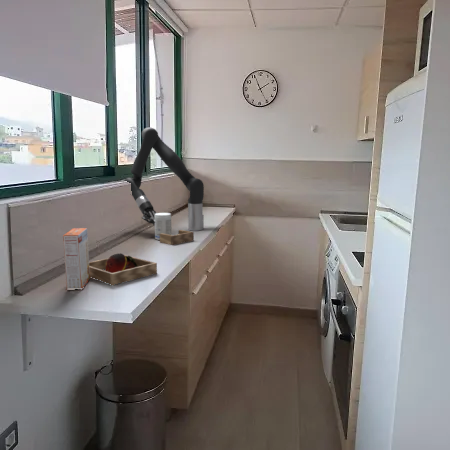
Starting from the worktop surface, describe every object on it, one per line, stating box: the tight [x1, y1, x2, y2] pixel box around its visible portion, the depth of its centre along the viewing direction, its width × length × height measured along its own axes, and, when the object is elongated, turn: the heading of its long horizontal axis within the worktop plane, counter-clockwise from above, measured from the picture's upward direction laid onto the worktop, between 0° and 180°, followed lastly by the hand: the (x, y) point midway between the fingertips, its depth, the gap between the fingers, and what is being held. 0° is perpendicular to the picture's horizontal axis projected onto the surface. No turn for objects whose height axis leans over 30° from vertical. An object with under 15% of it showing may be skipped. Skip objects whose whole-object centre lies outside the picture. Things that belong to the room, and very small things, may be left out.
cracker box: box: [62, 227, 91, 289], centre depth 164 cm, size 14×6×21 cm, turn 5°
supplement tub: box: [154, 212, 173, 241], centre depth 251 cm, size 10×10×15 cm
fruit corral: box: [89, 254, 158, 286], centre depth 180 cm, size 22×22×4 cm
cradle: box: [159, 229, 195, 246], centre depth 245 cm, size 16×10×5 cm, turn 139°
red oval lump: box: [104, 253, 137, 273], centre depth 181 cm, size 12×12×15 cm
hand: (158, 227), depth 254 cm, fingers closed
